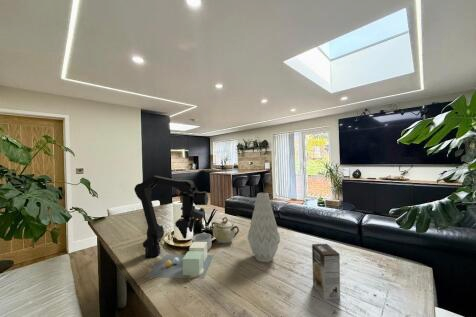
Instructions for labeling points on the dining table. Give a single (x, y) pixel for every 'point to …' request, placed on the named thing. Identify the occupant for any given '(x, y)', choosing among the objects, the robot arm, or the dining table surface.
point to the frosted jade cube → (193, 263)
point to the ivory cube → (199, 248)
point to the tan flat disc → (195, 275)
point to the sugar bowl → (224, 231)
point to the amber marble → (168, 263)
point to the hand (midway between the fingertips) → (188, 234)
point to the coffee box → (326, 271)
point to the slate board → (176, 267)
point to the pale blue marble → (175, 260)
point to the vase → (263, 230)
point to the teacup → (203, 239)
